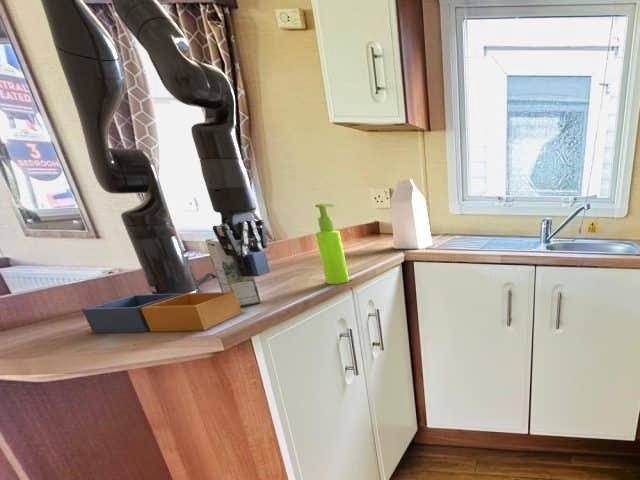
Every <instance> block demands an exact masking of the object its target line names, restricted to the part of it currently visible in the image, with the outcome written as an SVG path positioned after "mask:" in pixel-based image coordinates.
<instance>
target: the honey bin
mask: <svg viewBox="0 0 640 480" xmlns="http://www.w3.org/2000/svg"><path fill="white" fill-rule="evenodd" d="M141 309H142V312H143V314H144V316H145V319H146V321H147V323H148V326H149V328H150V330H149V331H150V332H186V331H206V330H208V329H210V328H212V327H215V326H217V325H219V324H221V323H224V322H226V321H228V320H231V319H232V318H234V317H237V316H239V315H242V314H243V311H242V308H241V307H240V305H239V301H238V298H237V295H236V292H222V291H217V292H216V291H214V292H197V293H186V294H183V295H180V296H177V297H174V298H170V299H167V300H164V301H161V302H158V303H155V304H152V305H148V306H145V307H142V308H141Z"/></svg>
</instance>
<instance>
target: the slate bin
mask: <svg viewBox="0 0 640 480" xmlns="http://www.w3.org/2000/svg"><path fill="white" fill-rule="evenodd" d="M180 295H183V294H182V293H178V294H152V293H151V294H150V293H149V294H147V293H146V294H133V295H128V296H125V297H122V298H118V299H115V300H111V301H107V302H104V303H100V304H96V305H92V306H89V307H86V308H82V309H81V311H82V313H83V314H84V316H85V319H86V321H87V323H88V325H89V328H90V329H91V330H92V334H101V333H103V334H105V333H110V334H111V333H145V332H149V331H150V328H149V326H148V323H147V321H146V319H145V316H144V314H143V312H142V309H141V308H142V307H145V306H148V305H152V304H155V303H158V302H161V301H164V300H167V299H170V298H174V297H177V296H180Z"/></svg>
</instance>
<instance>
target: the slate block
mask: <svg viewBox="0 0 640 480" xmlns="http://www.w3.org/2000/svg"><path fill="white" fill-rule="evenodd" d="M246 251H247V257H248V259H249V263H250V266H251V270H252V273H253V274H252V275H251V276H242V275H241V274H240V272H239V268H238V265H237V262H236V259H235V258H234V257H232V258H233V262H234V265H235V268H236V271H237V275H238V277H254V278H255V277H261V276H263V275H266V274H269V273H271V269H270V265H269V261H268V257H267V255H266V251H265V250H263V251H249V250H246Z"/></svg>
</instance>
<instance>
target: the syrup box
mask: <svg viewBox="0 0 640 480" xmlns="http://www.w3.org/2000/svg"><path fill="white" fill-rule="evenodd" d="M235 241H240V240H235ZM204 242H205V244H206V247H207V252H208V255H209V257H210V260H211V263H212V267H213V270H214V272H215V273H214V274H215V275H216V276H217V277H216V279H217V281H218V284H219V287H220V292H236V295H237V298H238V301H239V305H240V308H241V307H245V306H246V307H247V306H250V305H251V306H252V305H255V304H259V303H262V300H261V297H260V294H259V290H258V286H257V283H256V279H255V276H254V277H238V275H237V271H236V268H235V265H234V262H233V258H232V256H227V255H226V254H225V252H224V250H223V248H222V246H221V244H220V242H219V240H218V239H217V238H209V239H208V238H207V239H205V240H204ZM228 247H229V249H231V246H230V245H228ZM238 248H239V250H240V246H238ZM240 251H241V250H240Z"/></svg>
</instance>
